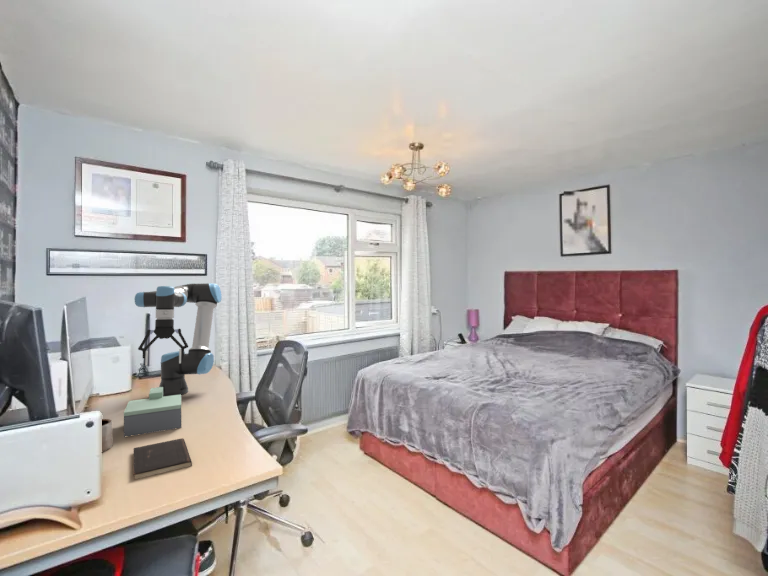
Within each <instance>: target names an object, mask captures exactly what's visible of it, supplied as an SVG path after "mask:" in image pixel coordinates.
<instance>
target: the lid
mask: <svg viewBox="0 0 768 576" xmlns="http://www.w3.org/2000/svg"><path fill="white" fill-rule="evenodd" d="M180 408H181V409H182V395H181V394H180V395H172V396H164V397H163V387H159V386H158V387H157V386H156V387H151V388H150V390H149V393H148V398H143V399H134V400H133V399H132V400H128V403H127V405H126V407H125V409H124V411H123V417H124V416H130V415H137V414H144V413H151V412H158V411H165V410H172V409H180Z"/></svg>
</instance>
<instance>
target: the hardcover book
mask: <svg viewBox="0 0 768 576" xmlns="http://www.w3.org/2000/svg"><path fill="white" fill-rule="evenodd" d="M132 465H133V471H132V472H133V473H132V475H133V476H134V480H138V479H142V478H147V477H149V476H154V475H159V474H162V473H167V472H171V471H175V470H176V471H177V470H179V469H184V468H187V467H192V466H193V462H192V459H191V455H190V453H189V450H188V446H187V443H186V441H185V438H184V437H182V438H177V439H176V438H175V439H172V440H166V441H162V442H157V443H153V444H148V445H142V446H138V447H134V448H133V464H132Z"/></svg>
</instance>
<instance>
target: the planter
mask: <svg viewBox="0 0 768 576" xmlns="http://www.w3.org/2000/svg"><path fill="white" fill-rule="evenodd" d="M101 419H102V451H103V452H106V451H108V450H109V449H110V448H111V447H112V446H113V421H112V419H110V418H101ZM107 449H108V450H107ZM105 450H106V451H105ZM103 452H102V453H103Z"/></svg>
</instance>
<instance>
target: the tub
mask: <svg viewBox="0 0 768 576" xmlns="http://www.w3.org/2000/svg"><path fill="white" fill-rule="evenodd" d="M175 428H177V429H181V428H182V407H181V408H180V409H172V410H165V411H158V412H151V413H144V414H137V415H130V416H124V415H123V437H124V438H126V437H125V436H128V437H132V436H131V435H134V436H139V435H138V434H140V435H145V434H144V433H146V434H151V433H157V432H164V430H165V431H169V430H170V429H171V430H176V429H175ZM171 430H170V431H171Z"/></svg>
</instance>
